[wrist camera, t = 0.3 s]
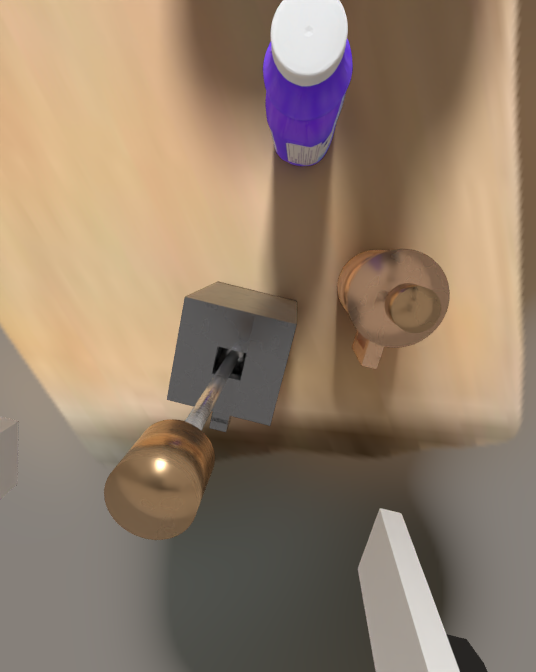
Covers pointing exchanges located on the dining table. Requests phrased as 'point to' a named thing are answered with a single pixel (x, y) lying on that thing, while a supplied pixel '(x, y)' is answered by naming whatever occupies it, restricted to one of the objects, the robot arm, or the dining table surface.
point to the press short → (392, 300)
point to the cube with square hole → (236, 334)
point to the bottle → (306, 77)
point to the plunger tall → (169, 466)
